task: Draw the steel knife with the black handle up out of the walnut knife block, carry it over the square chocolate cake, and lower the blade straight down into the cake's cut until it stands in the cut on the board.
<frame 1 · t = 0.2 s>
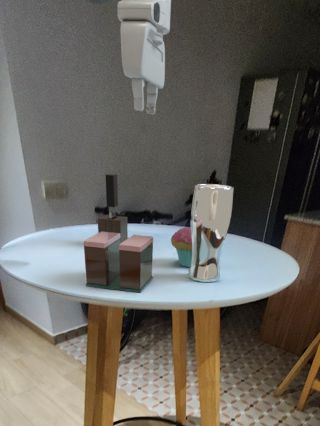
hand: (145, 112, 77), 25 cm above the table, tool pointing down, fingers open, 8 cm apart
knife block: (113, 245, 87), on the table
cupcake: (189, 265, 77), on the table
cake: (120, 281, 65), on the table
knife: (112, 212, 83), in the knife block
beer glass: (203, 278, 70), on the table
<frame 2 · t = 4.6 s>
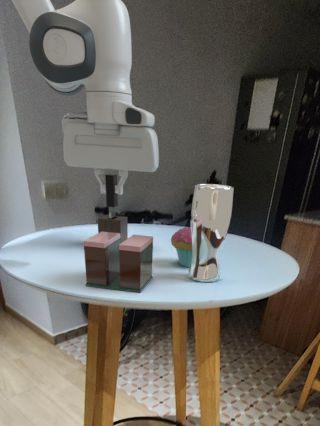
hand: (111, 193, 81), 11 cm above the table, tool pointing down, fingers closed on knife, 2 cm apart
knife: (112, 212, 83), in the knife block, touching gripper
everything else where it was.
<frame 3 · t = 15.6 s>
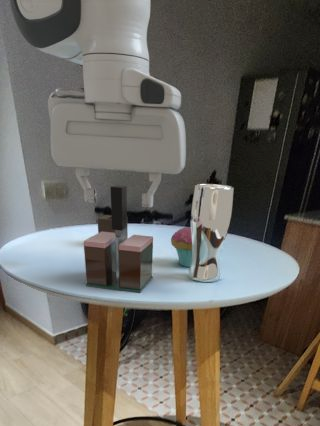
hand: (118, 204, 58), 12 cm above the table, tool pointing down, fingers open, 8 cm apart
knife: (119, 236, 61), resting on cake
everything else where it was.
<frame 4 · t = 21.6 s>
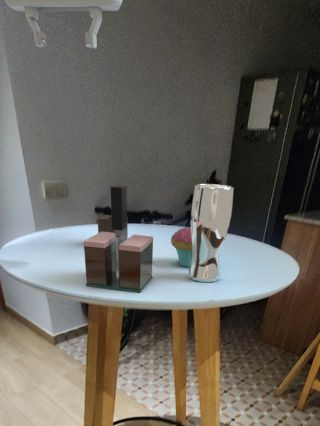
hand: (66, 47, 64), 33 cm above the table, tool pointing down, fingers open, 8 cm apart
nothing on the table moved.
at the end: knife 0.0 cm off-centre on the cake, point 7.5 cm above the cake's base; knife tilted 0°; knife touching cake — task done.
